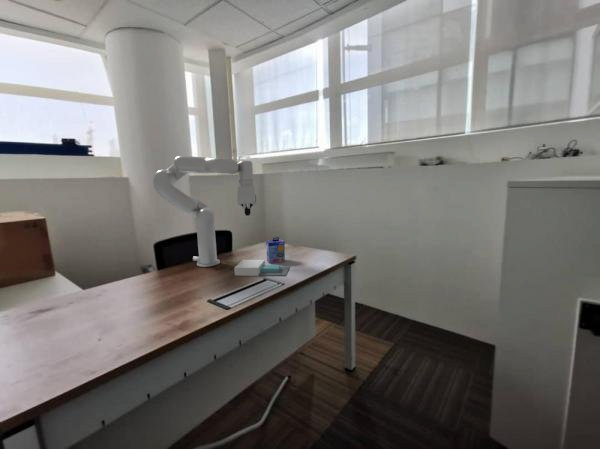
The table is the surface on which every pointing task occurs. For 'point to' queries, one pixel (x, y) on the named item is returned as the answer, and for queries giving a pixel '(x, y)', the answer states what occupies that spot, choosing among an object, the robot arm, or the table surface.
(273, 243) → the ink cartridge box
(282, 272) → the mat
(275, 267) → the teal tile
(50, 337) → the table surface
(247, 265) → the grey flat block
